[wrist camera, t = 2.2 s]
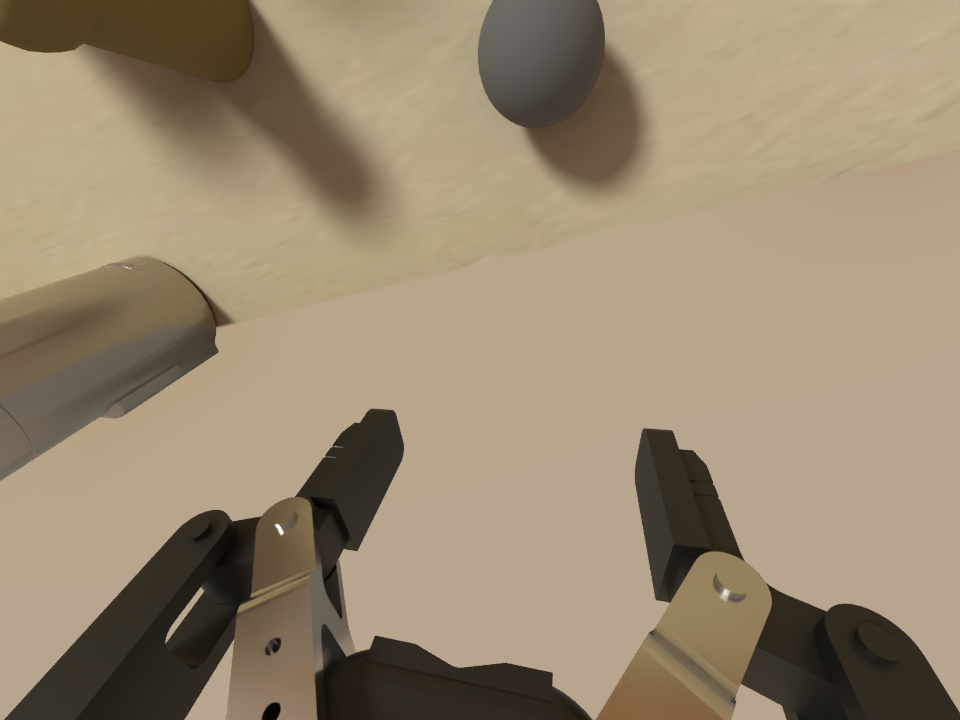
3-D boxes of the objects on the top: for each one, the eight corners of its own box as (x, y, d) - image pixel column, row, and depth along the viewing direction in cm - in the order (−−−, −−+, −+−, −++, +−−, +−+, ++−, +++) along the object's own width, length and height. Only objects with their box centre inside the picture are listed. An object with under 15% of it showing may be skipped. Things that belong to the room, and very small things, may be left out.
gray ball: (595, 121, 20) (603, 123, 16) (493, 130, 21) (471, 134, 17) (605, -23, 17) (618, -73, 13) (486, -3, 18) (458, -42, 14)
